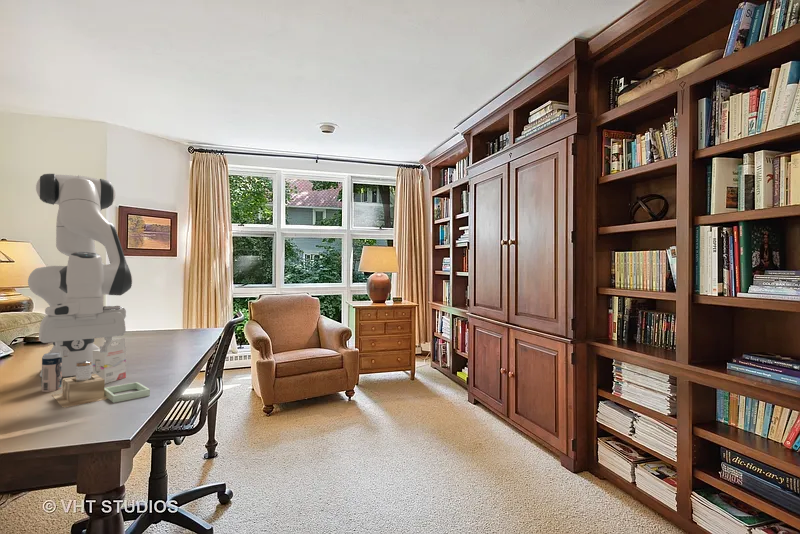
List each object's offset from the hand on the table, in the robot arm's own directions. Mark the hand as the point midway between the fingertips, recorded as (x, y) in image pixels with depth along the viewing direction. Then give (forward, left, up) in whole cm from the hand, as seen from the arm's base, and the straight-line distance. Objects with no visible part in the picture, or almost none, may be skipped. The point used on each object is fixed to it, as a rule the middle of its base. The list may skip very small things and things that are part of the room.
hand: (84, 354), depth 122 cm
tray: (+7, +9, -13) cm, 17 cm away
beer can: (-15, -5, -14) cm, 21 cm away
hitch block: (0, 0, -13) cm, 13 cm away
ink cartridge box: (-15, +10, -14) cm, 23 cm away
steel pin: (0, 0, -12) cm, 12 cm away
